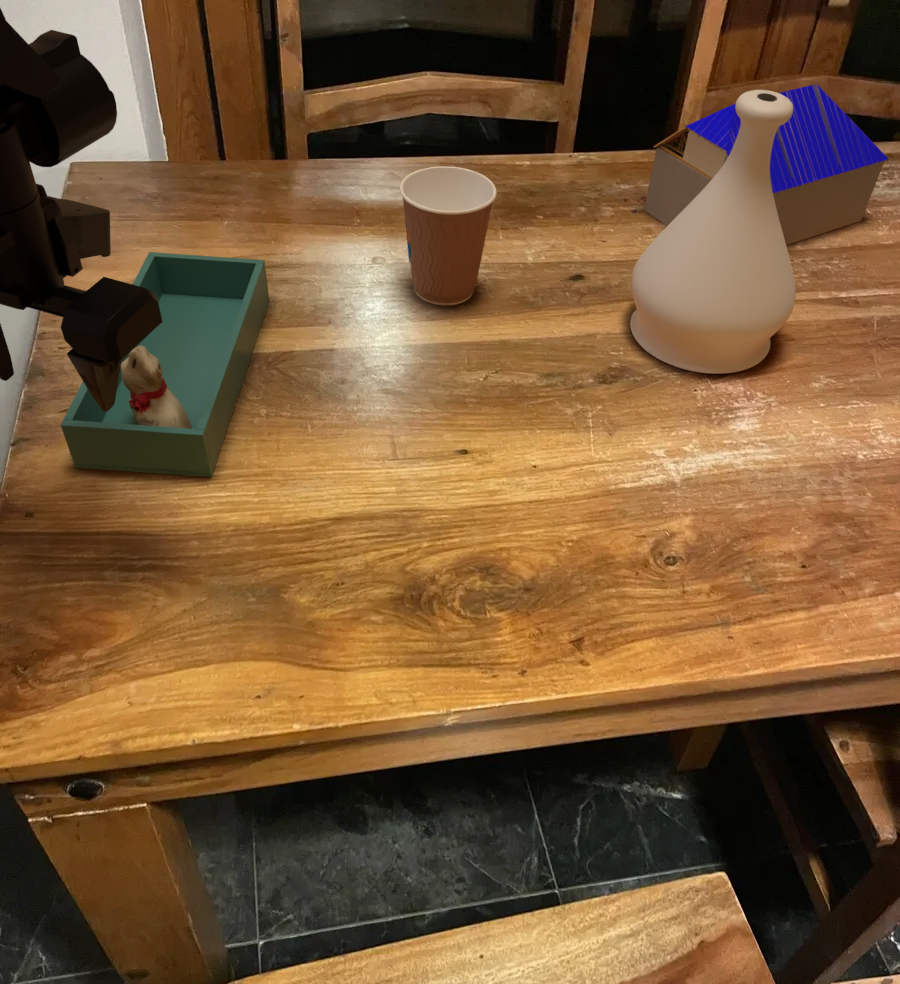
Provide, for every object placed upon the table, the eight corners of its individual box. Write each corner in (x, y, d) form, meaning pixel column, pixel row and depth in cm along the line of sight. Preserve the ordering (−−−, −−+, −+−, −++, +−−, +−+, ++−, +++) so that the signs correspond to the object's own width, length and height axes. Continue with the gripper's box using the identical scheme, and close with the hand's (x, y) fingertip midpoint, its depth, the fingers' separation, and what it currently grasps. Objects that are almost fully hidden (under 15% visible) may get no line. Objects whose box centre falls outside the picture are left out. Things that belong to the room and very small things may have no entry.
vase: (766, 296, 110) (844, 68, 91) (789, 386, 99) (882, 146, 80) (619, 284, 111) (666, 53, 92) (625, 371, 99) (679, 129, 80)
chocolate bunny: (191, 404, 92) (173, 315, 84) (196, 456, 87) (177, 366, 79) (133, 410, 91) (109, 320, 83) (135, 463, 86) (109, 373, 78)
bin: (211, 477, 86) (202, 435, 82) (74, 468, 86) (60, 424, 82) (269, 300, 105) (264, 259, 101) (157, 293, 105) (149, 251, 101)
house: (723, 266, 114) (762, 135, 102) (640, 209, 123) (667, 81, 111) (864, 221, 123) (914, 95, 112) (777, 170, 132) (815, 48, 120)
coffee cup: (431, 257, 113) (434, 156, 104) (504, 284, 109) (514, 183, 100) (381, 294, 107) (380, 192, 98) (457, 325, 104) (463, 221, 94)
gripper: (184, 174, 64) (217, 366, 75) (-42, 119, 67) (23, 311, 79) (85, 250, 57) (139, 448, 69) (-160, 185, 60) (-69, 384, 72)
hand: (57, 392), depth 72 cm, fingers open, 9 cm apart
